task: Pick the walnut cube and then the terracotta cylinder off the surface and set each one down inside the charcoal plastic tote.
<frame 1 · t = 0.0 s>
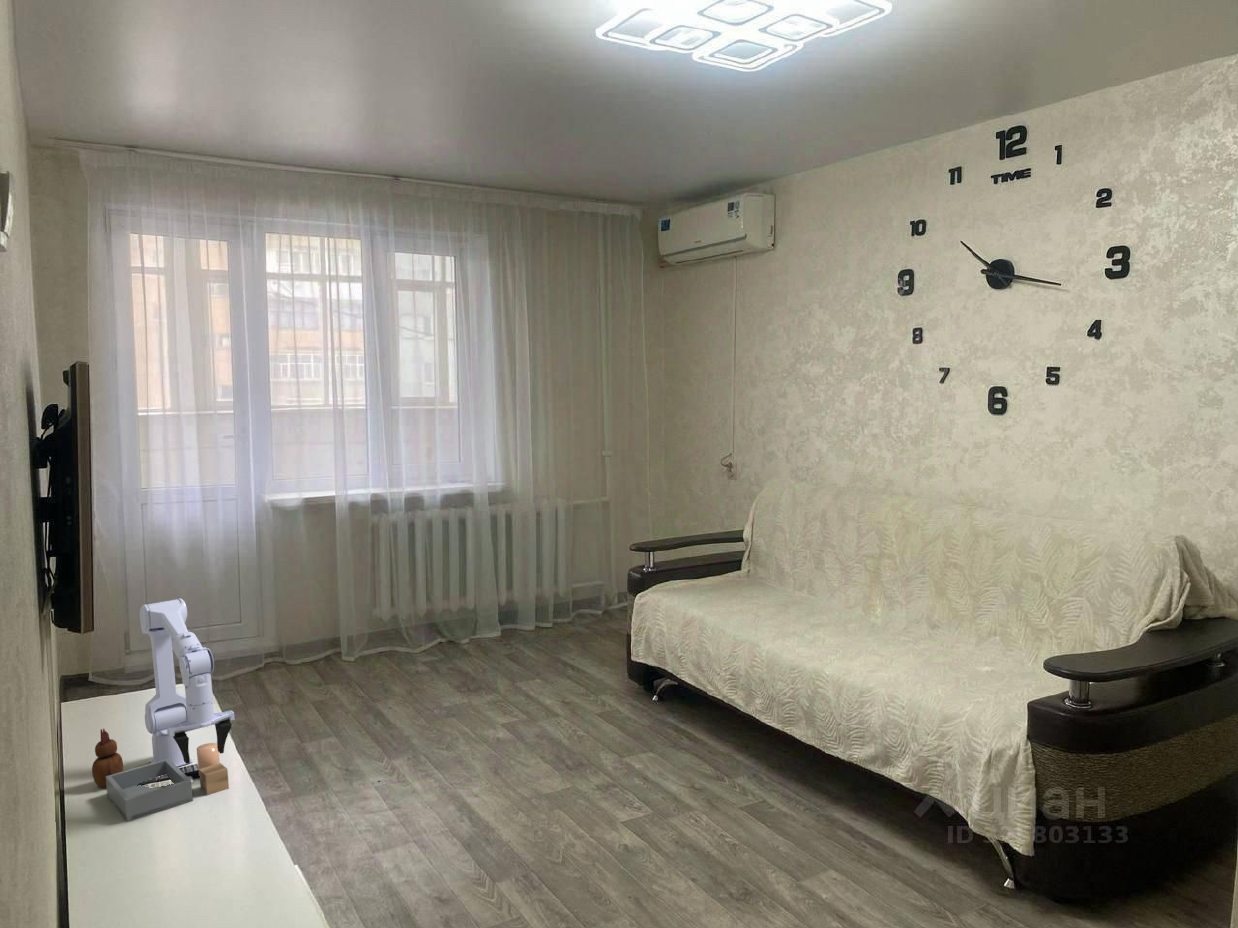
hand: (204, 756, 211), 10 cm above the tv stand, fingers open, 7 cm apart
terracotta cylinder: (209, 773, 226), on the tv stand
wooden figurine: (109, 785, 221), on the tv stand
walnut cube: (214, 788, 217), on the tv stand
tote: (149, 798, 213), on the tv stand
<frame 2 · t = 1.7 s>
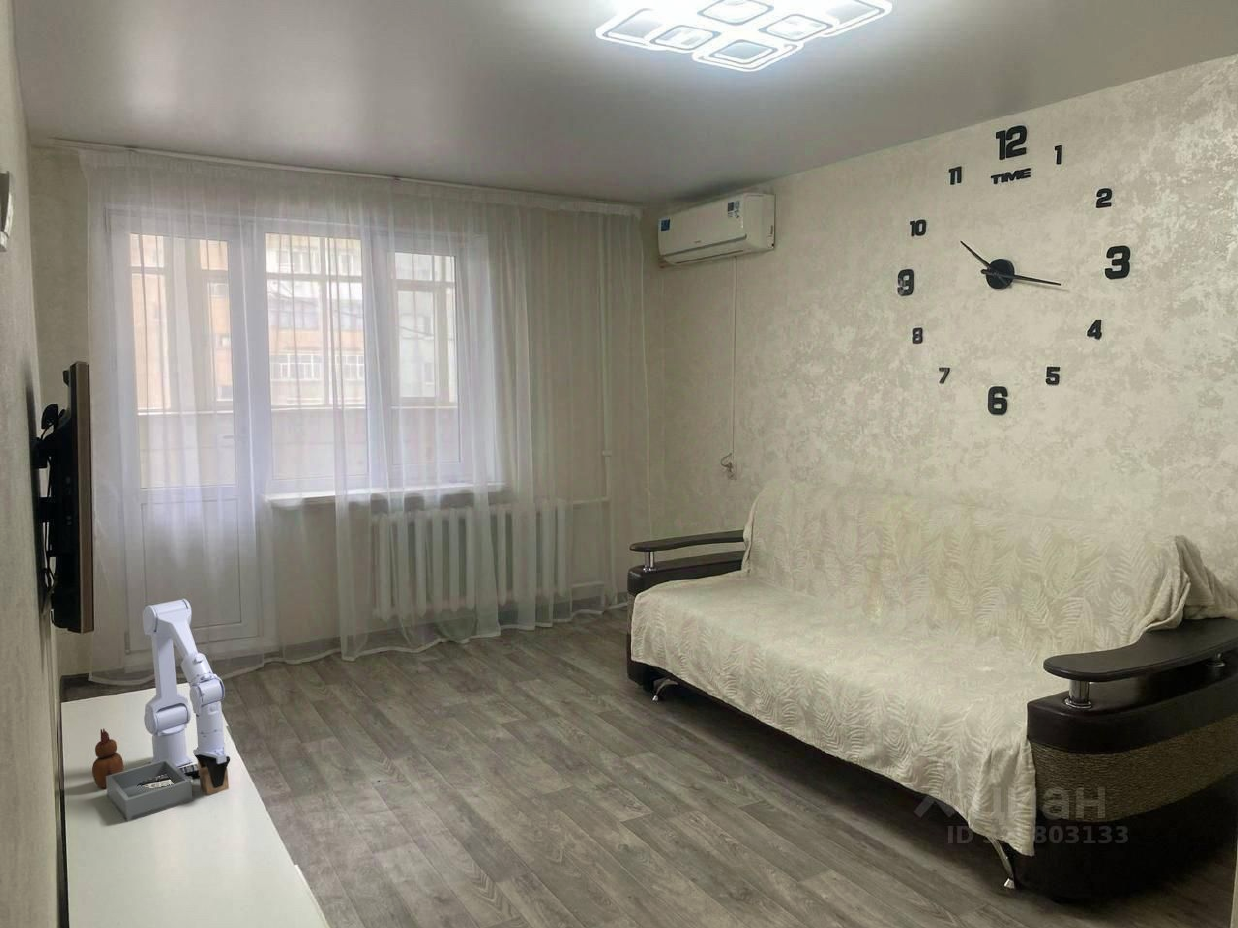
hand: (214, 782, 217), 1 cm above the tv stand, fingers closed on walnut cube, 5 cm apart
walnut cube: (214, 788, 217), on the tv stand, touching gripper
everything else where it was.
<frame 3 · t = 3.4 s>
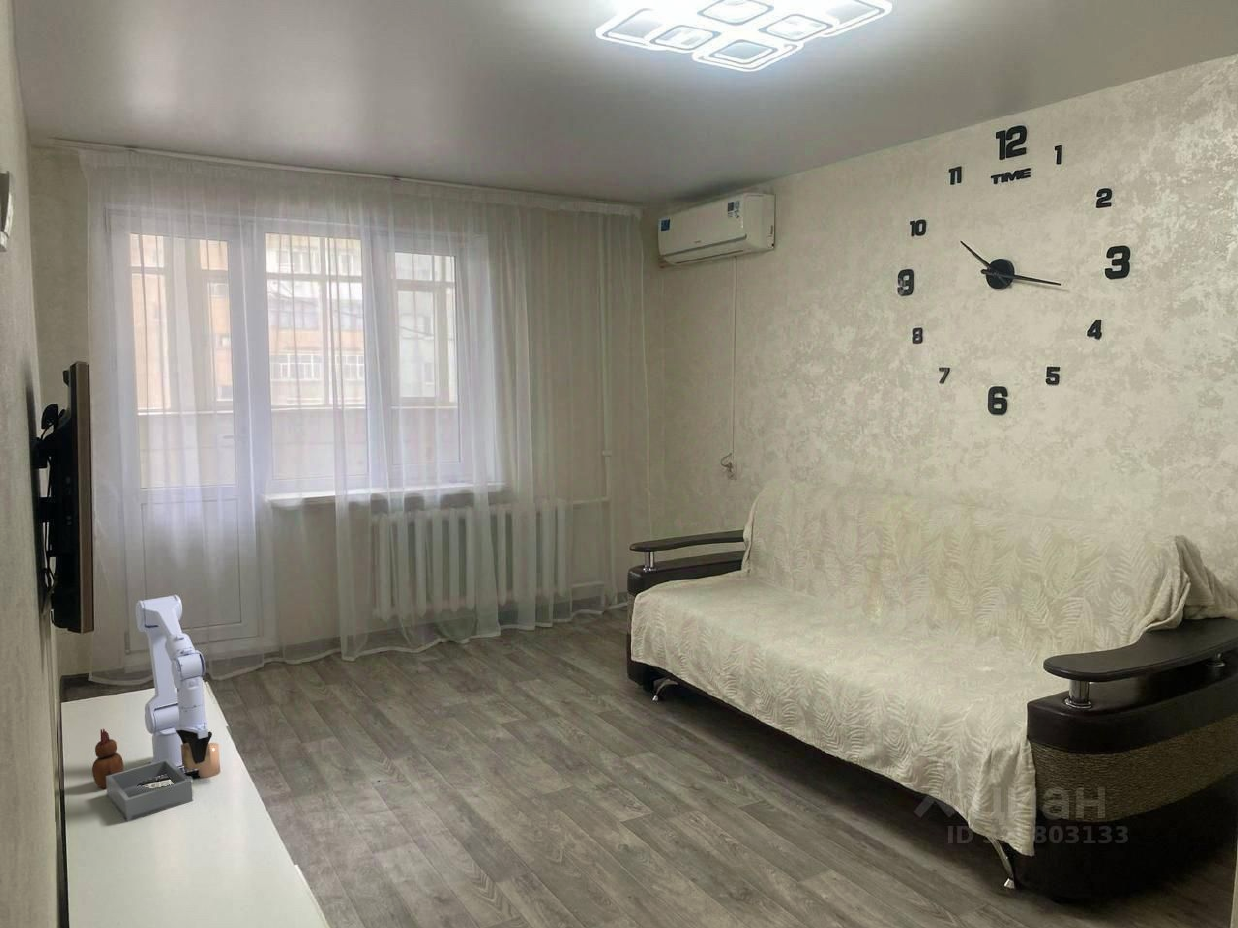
hand: (195, 758, 215), 8 cm above the tv stand, fingers closed on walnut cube, 5 cm apart
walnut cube: (196, 764, 215), point 7 cm above the tv stand, touching gripper
everything else where it was.
when the fingers open (4 cm above the tv stand, at t = 5.3 s): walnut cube drops 1 cm, resting on tote.
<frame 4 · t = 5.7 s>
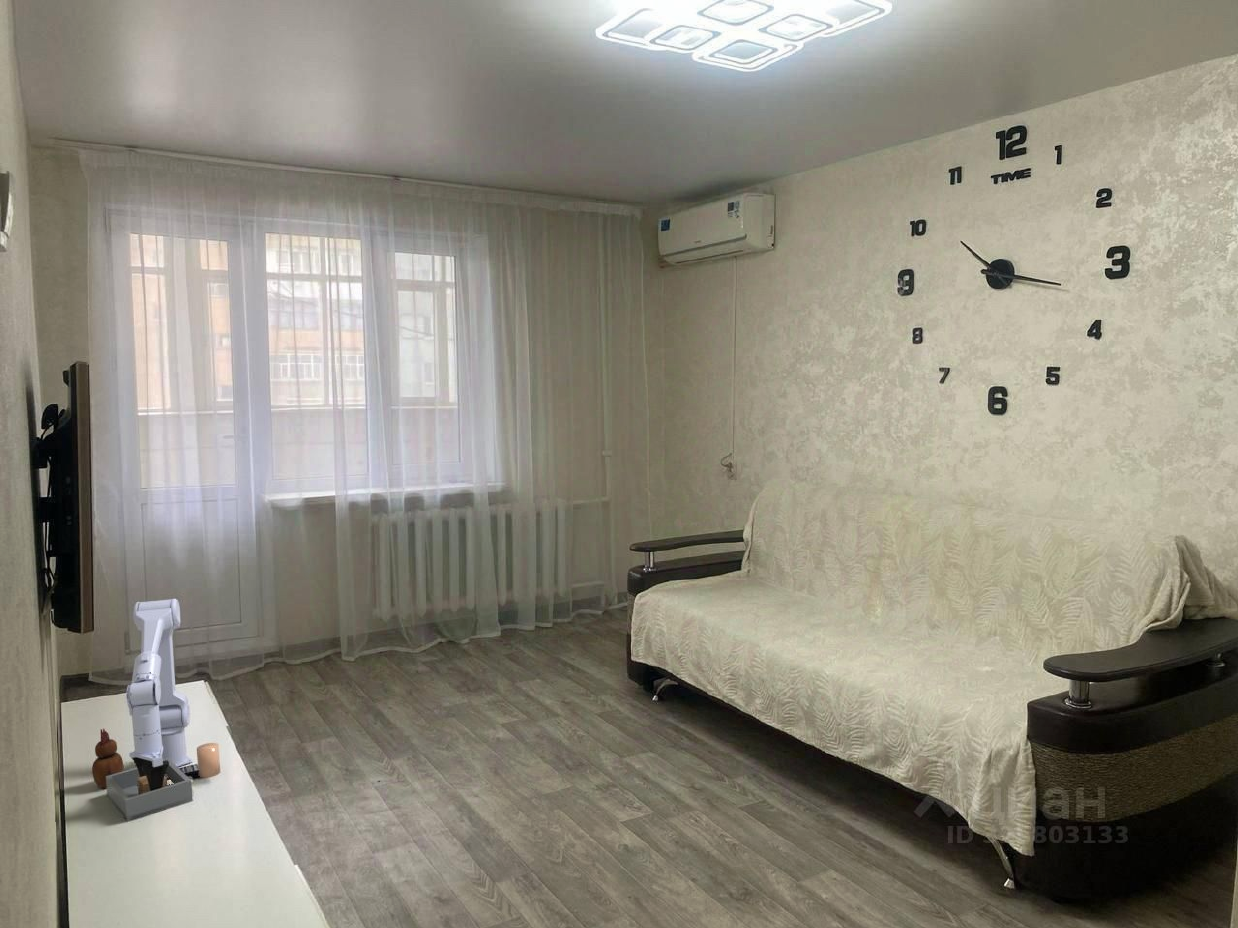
hand: (151, 786, 210), 4 cm above the tv stand, fingers open, 7 cm apart
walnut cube: (153, 798, 211), point 1 cm above the tv stand, touching tote
everything else where it was.
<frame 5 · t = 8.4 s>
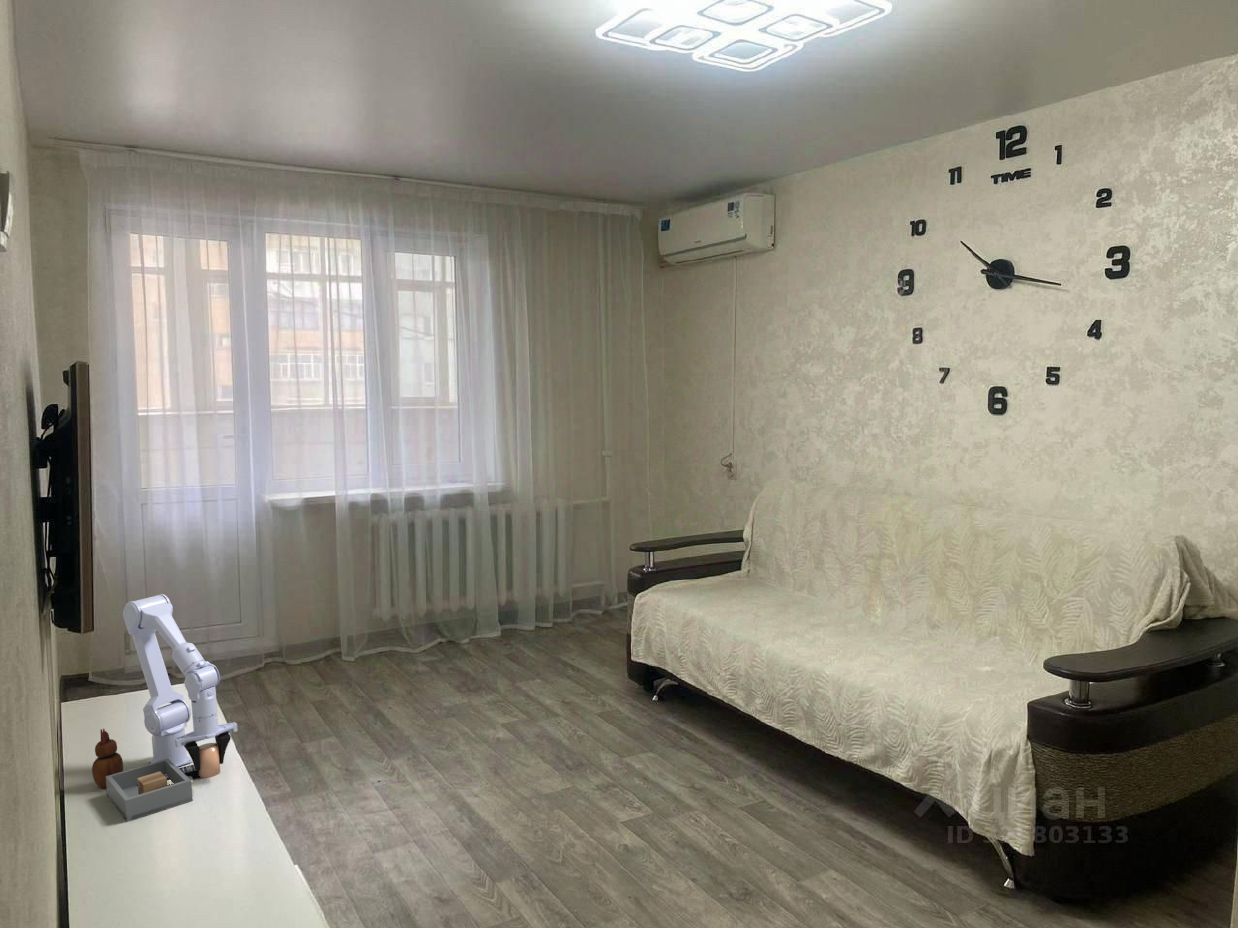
hand: (209, 766, 226), 2 cm above the tv stand, fingers closed on terracotta cylinder, 5 cm apart
terracotta cylinder: (209, 773, 226), on the tv stand, touching gripper
everything else where it was.
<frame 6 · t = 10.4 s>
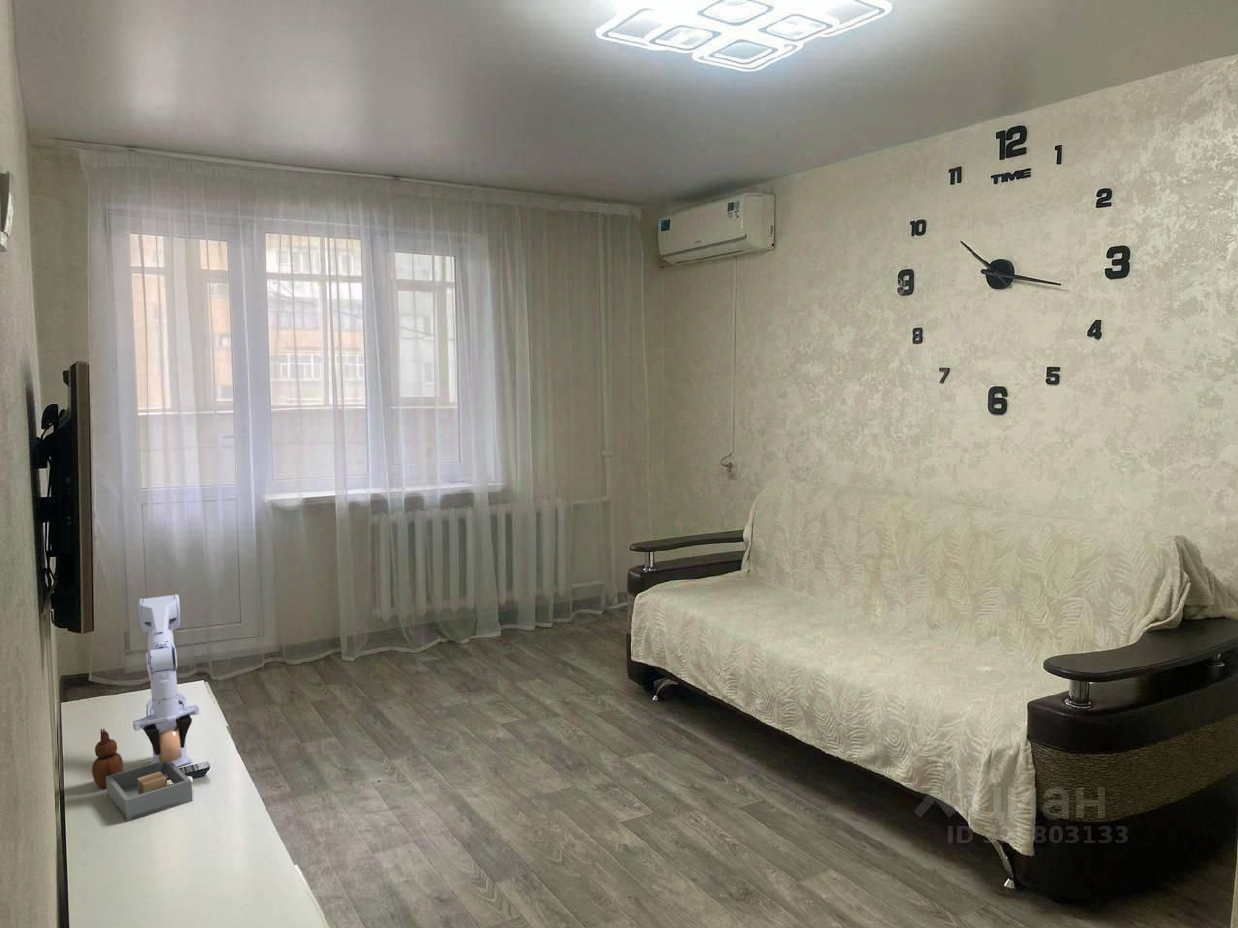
hand: (169, 749, 219), 9 cm above the tv stand, fingers closed on terracotta cylinder, 5 cm apart
terracotta cylinder: (170, 757, 219), point 7 cm above the tv stand, touching gripper
everything else where it was.
when the fingers open (4 cm above the tv stand, at t = 12.2 s): terracotta cylinder drops 1 cm, resting on tote.
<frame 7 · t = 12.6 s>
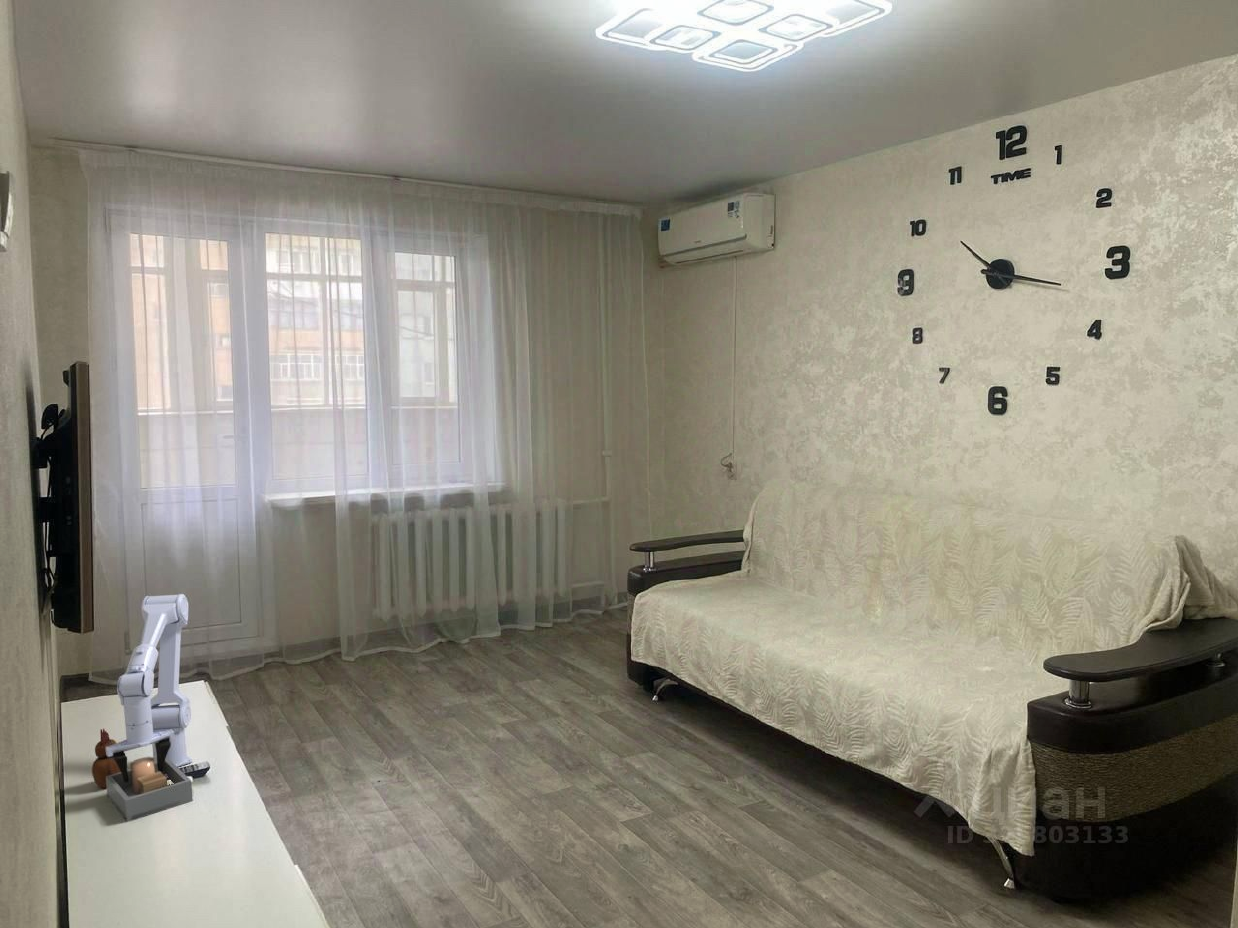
hand: (143, 775, 215), 4 cm above the tv stand, fingers open, 7 cm apart
terracotta cylinder: (144, 789, 216), point 1 cm above the tv stand, touching tote
everything else where it was.
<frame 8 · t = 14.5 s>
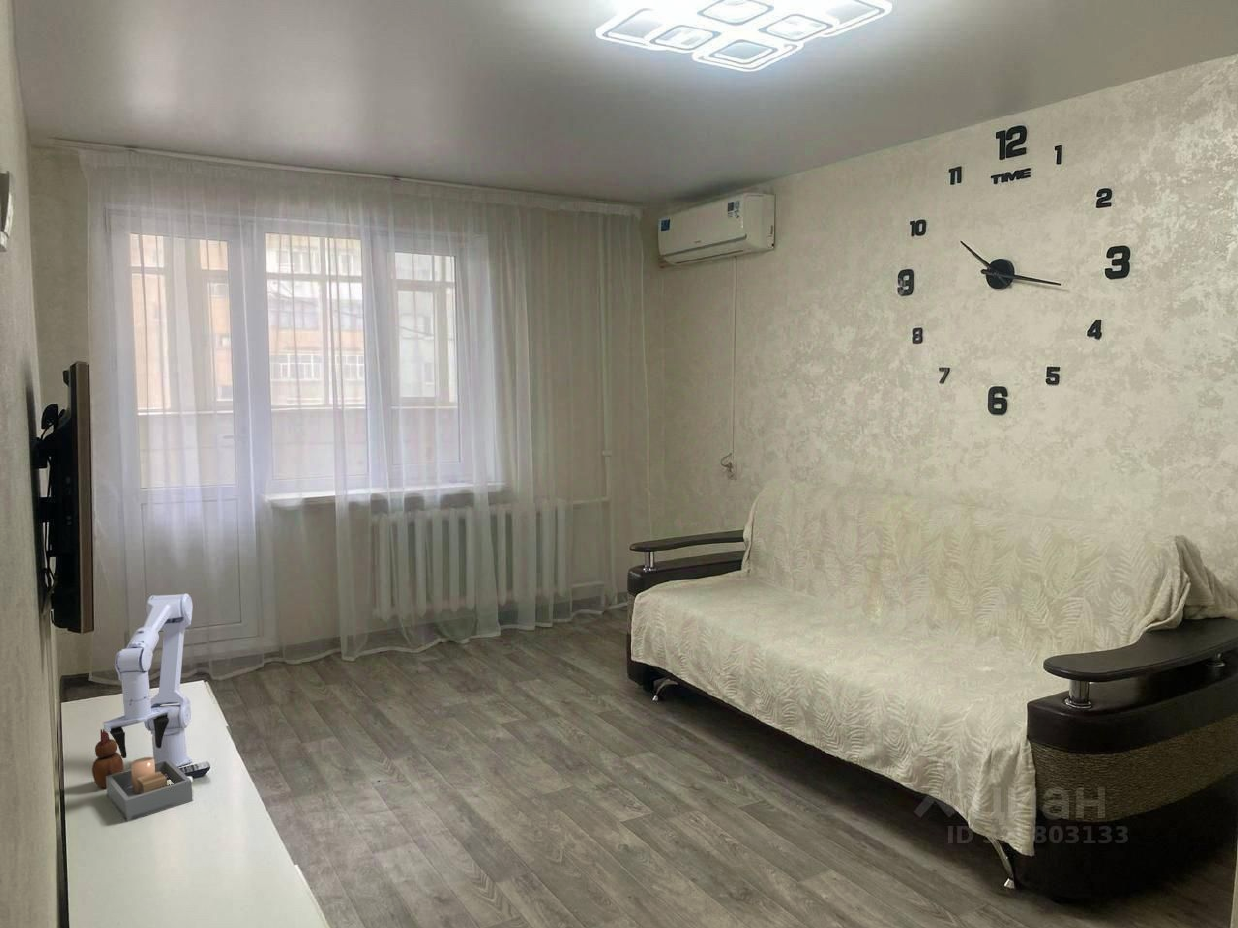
hand: (141, 751, 215), 10 cm above the tv stand, fingers open, 7 cm apart
nothing on the tv stand moved.
at the end: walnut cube inside the target area on the tote (2.9 cm from its centre), point 1.0 cm above the tote's base; terracotta cylinder inside the target area on the tote (3.9 cm from its centre), point 1.0 cm above the tote's base; terracotta cylinder tilted 1° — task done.
